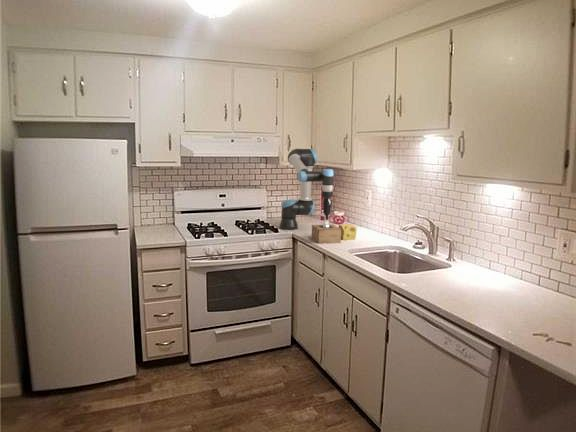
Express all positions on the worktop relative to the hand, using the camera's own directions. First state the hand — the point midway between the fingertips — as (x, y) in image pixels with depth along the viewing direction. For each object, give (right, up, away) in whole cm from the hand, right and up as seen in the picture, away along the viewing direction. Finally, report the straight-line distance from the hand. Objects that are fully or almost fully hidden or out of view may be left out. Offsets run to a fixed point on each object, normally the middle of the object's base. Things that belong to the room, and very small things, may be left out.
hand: (326, 223), depth 302 cm
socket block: (0, -12, +2) cm, 12 cm away
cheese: (+16, -11, +11) cm, 22 cm away
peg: (0, -10, +2) cm, 10 cm away
